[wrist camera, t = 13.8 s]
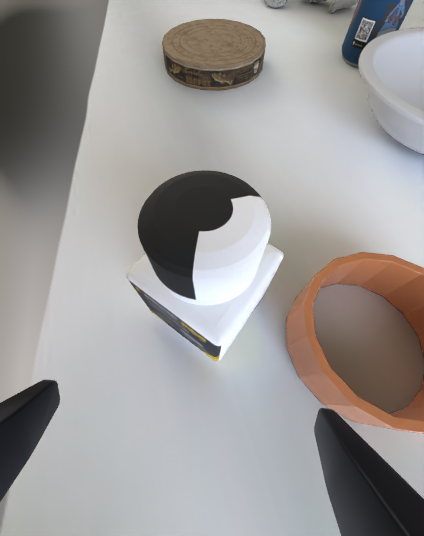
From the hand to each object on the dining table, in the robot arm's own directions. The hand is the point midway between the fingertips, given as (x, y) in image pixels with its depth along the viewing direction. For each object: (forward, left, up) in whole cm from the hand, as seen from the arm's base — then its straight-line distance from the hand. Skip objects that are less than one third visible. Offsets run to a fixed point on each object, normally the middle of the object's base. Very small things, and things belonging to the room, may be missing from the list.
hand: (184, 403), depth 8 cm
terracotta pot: (+13, +1, -11) cm, 17 cm away
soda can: (+38, +42, -11) cm, 57 cm away
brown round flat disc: (+14, +47, -11) cm, 50 cm away
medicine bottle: (+2, +7, -11) cm, 13 cm away
